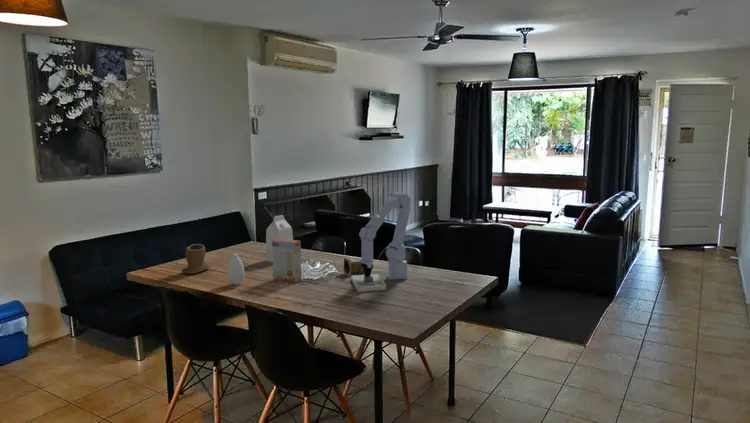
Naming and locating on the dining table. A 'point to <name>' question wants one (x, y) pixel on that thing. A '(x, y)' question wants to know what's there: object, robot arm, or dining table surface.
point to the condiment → (352, 267)
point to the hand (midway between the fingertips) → (367, 278)
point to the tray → (370, 287)
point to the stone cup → (195, 259)
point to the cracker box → (286, 260)
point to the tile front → (370, 283)
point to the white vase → (235, 270)
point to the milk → (277, 234)
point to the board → (360, 279)
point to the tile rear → (368, 278)
